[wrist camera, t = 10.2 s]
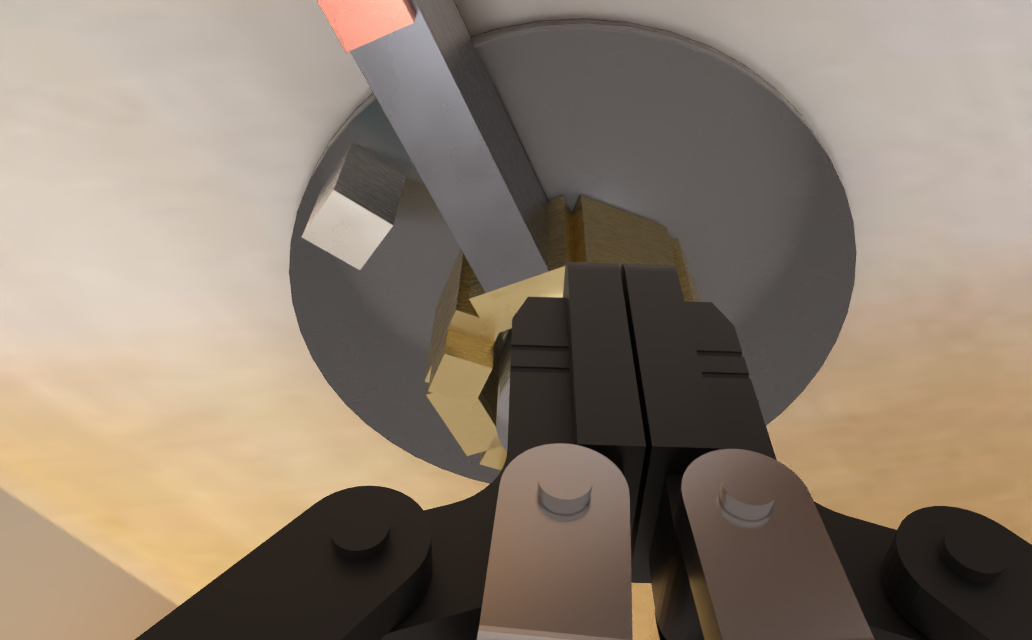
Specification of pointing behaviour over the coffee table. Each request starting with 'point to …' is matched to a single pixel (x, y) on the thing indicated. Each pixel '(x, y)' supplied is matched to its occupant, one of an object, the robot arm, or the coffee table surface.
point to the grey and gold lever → (480, 201)
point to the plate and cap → (572, 173)
